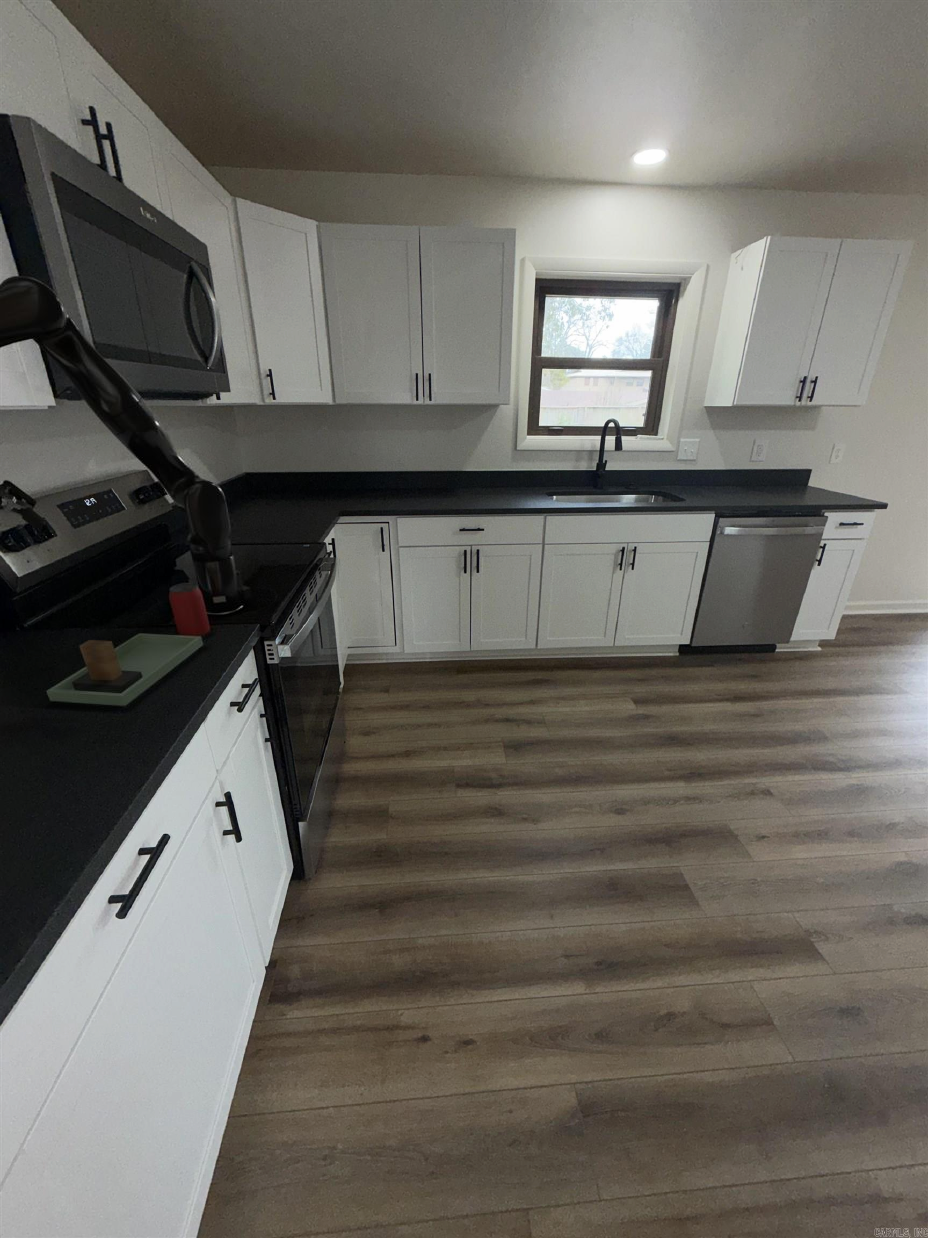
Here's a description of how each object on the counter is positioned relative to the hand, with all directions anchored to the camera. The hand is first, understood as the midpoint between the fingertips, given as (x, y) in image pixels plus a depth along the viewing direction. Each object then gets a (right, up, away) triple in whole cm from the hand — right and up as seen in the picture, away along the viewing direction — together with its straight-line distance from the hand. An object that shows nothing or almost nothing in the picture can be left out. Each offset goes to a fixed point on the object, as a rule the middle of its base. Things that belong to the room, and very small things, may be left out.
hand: (22, 533), depth 87 cm
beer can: (+16, -19, +28) cm, 37 cm away
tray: (+12, -26, +12) cm, 31 cm away
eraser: (+11, -28, +6) cm, 31 cm away
